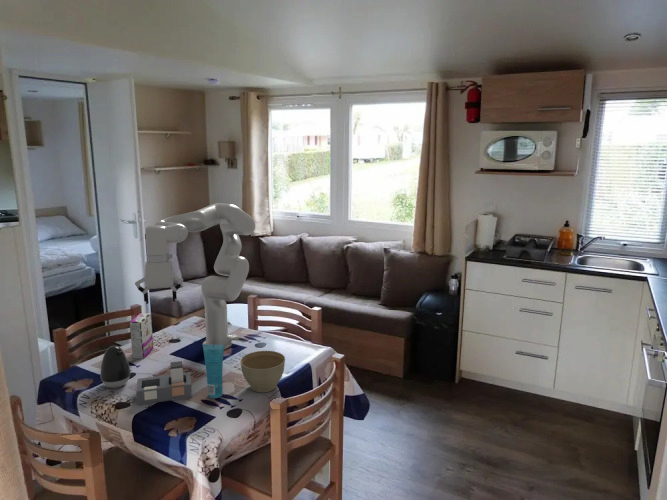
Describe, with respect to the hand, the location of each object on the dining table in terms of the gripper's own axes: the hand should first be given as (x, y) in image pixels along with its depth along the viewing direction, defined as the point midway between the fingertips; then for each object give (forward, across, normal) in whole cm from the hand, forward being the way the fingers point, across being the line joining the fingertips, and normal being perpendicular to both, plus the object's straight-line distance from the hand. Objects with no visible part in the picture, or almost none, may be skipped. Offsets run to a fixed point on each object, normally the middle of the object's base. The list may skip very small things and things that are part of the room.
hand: (160, 301), depth 189 cm
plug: (+27, -4, +20) cm, 34 cm away
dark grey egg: (+28, +17, +7) cm, 34 cm away
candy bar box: (+28, +9, -20) cm, 36 cm away
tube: (+28, -17, +26) cm, 42 cm away
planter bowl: (+29, -34, +25) cm, 51 cm away
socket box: (+28, 0, +20) cm, 35 cm away
